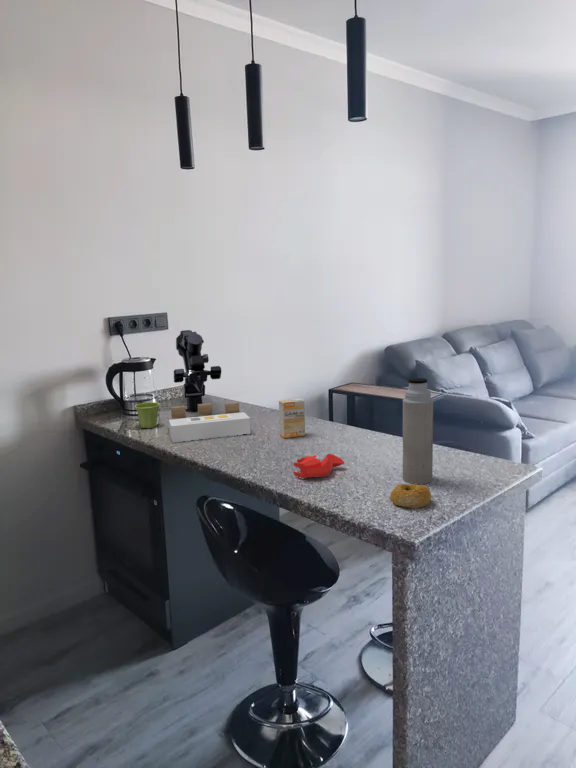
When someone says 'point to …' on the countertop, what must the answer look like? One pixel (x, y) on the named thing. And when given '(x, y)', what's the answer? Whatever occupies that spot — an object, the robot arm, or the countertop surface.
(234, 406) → the key
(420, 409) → the thermos bottle
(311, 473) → the animal figurine
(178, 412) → the key
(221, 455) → the countertop surface
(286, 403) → the supplement box
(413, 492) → the bagel
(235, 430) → the key console
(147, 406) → the plant pot
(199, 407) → the key middle
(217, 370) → the robot arm
